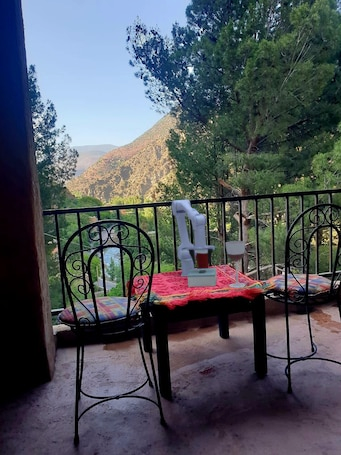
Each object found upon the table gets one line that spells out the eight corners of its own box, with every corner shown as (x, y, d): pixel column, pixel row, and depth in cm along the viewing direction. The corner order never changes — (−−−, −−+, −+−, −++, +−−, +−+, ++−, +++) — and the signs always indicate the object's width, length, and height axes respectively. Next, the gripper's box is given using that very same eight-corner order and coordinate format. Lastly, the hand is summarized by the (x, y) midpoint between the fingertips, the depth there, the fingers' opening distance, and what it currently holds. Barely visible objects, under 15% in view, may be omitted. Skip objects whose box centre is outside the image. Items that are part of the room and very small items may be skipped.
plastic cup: (211, 271, 214) (210, 251, 213) (193, 272, 216) (192, 252, 215) (213, 267, 225) (212, 248, 223) (196, 267, 227) (194, 249, 225)
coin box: (191, 279, 199) (190, 269, 199) (216, 278, 197) (216, 268, 196) (188, 286, 186) (187, 275, 185) (215, 286, 183) (214, 274, 182)
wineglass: (230, 282, 188) (228, 240, 185) (249, 283, 183) (246, 240, 181) (225, 287, 180) (223, 243, 177) (244, 288, 176) (242, 243, 173)
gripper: (185, 240, 186) (187, 265, 187) (213, 238, 183) (215, 264, 185) (187, 237, 193) (188, 262, 194) (214, 236, 190) (215, 261, 192)
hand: (201, 263), depth 190 cm, fingers open, 7 cm apart
